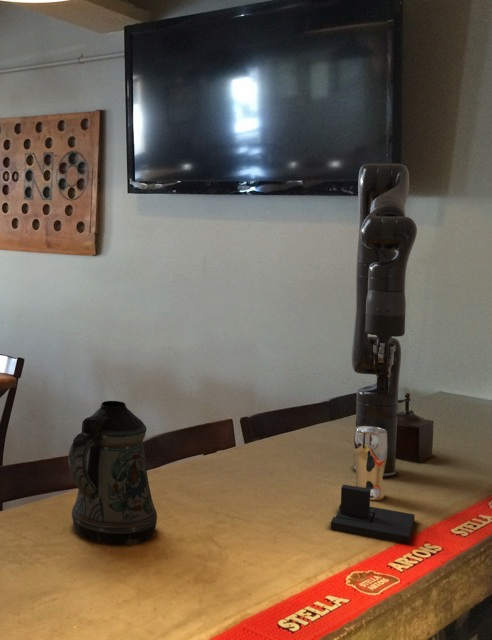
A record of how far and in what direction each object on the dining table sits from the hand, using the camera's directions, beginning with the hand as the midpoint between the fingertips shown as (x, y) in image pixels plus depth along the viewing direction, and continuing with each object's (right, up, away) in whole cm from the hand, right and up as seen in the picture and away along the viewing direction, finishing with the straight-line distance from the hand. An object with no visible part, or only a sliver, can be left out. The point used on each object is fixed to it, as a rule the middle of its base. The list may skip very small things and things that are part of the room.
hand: (382, 394), depth 169 cm
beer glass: (+2, -25, +11) cm, 27 cm away
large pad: (-5, -25, -7) cm, 27 cm away
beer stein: (-58, -25, -13) cm, 65 cm away
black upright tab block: (-8, -25, -5) cm, 27 cm away
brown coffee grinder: (+25, -24, +46) cm, 58 cm away
